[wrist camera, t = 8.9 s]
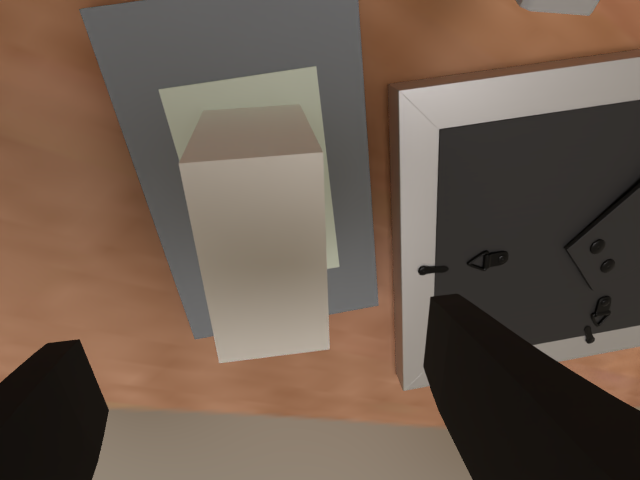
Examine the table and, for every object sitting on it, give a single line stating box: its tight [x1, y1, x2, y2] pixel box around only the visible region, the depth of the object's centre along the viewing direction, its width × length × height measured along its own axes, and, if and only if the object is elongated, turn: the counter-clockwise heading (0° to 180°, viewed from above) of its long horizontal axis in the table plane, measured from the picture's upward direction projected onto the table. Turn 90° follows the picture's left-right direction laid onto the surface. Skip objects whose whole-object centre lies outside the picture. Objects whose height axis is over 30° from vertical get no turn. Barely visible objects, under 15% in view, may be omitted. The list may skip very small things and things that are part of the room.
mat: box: [79, 0, 378, 339], centre depth 18 cm, size 14×9×1 cm, turn 7°
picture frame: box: [388, 49, 640, 391], centre depth 21 cm, size 16×3×21 cm
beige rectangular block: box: [179, 104, 330, 363], centre depth 15 cm, size 4×6×6 cm, turn 2°
